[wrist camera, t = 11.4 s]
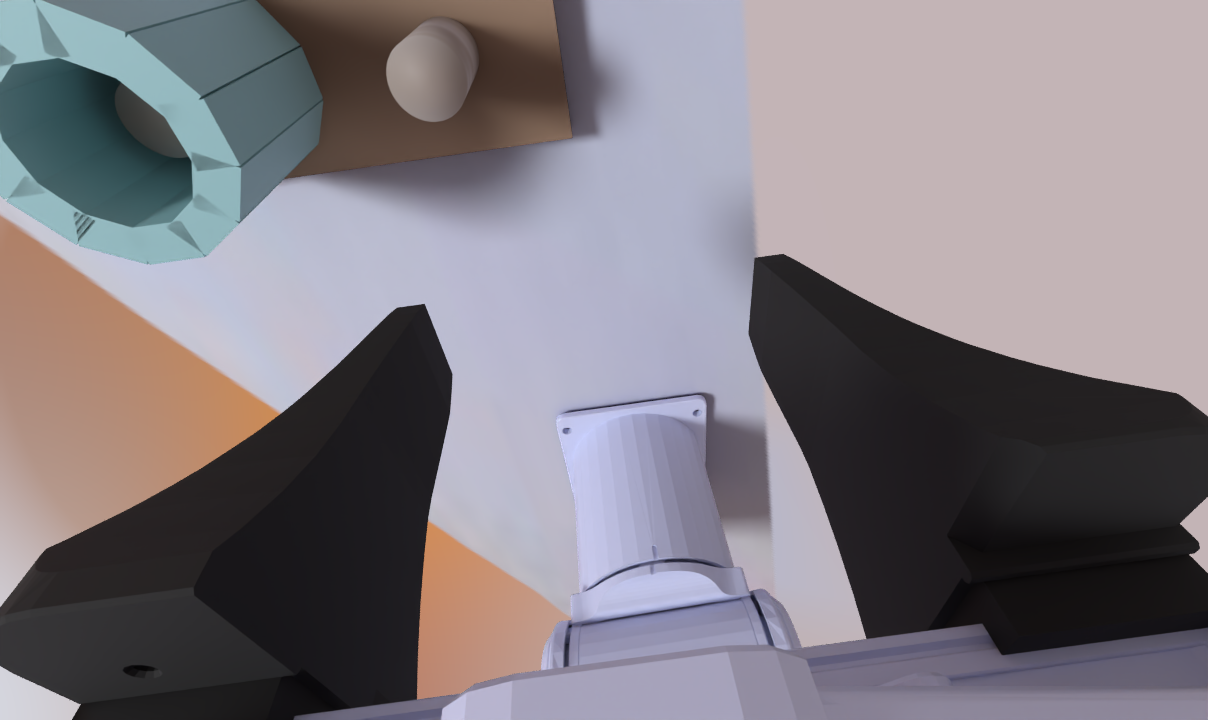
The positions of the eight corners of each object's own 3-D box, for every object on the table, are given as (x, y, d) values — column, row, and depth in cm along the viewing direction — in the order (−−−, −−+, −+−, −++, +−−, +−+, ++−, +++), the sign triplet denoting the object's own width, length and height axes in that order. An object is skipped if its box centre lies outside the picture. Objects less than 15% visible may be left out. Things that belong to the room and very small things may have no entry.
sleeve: (350, 163, 18) (284, 245, 14) (189, 185, 18) (70, 275, 14) (265, -39, 15) (138, -19, 10) (66, -11, 15) (-151, 23, 10)
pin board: (571, 129, 19) (576, 176, 16) (187, 183, 19) (110, 241, 16) (540, -88, 15) (538, -89, 12) (61, -18, 15) (-79, 0, 12)
